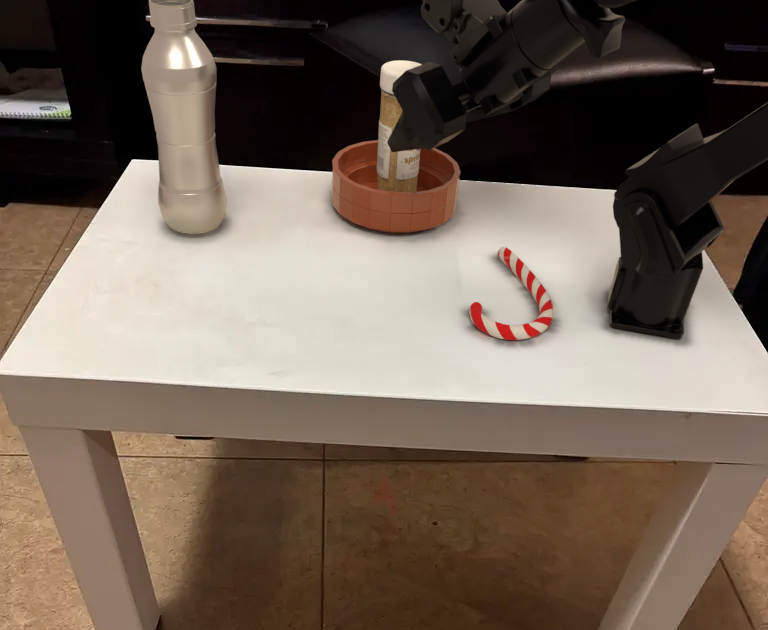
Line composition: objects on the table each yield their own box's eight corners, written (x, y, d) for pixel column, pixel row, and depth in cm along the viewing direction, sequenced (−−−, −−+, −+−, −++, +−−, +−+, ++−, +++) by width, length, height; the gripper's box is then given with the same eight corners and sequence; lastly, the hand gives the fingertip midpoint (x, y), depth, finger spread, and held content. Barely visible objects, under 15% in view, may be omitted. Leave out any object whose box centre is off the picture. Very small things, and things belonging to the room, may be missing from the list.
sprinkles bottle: (415, 214, 86) (427, 77, 77) (371, 210, 86) (378, 72, 77) (417, 195, 89) (429, 60, 80) (375, 191, 90) (383, 56, 80)
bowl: (463, 191, 92) (469, 150, 89) (442, 246, 83) (447, 203, 80) (349, 172, 94) (351, 132, 90) (316, 225, 85) (316, 182, 81)
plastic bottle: (148, 224, 83) (113, -3, 68) (202, 204, 86) (179, -16, 72) (188, 249, 80) (161, 17, 65) (242, 227, 83) (227, 2, 69)
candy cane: (536, 245, 82) (563, 331, 71) (534, 258, 83) (560, 344, 72) (459, 242, 81) (474, 328, 71) (457, 254, 82) (472, 341, 72)
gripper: (547, -73, 72) (434, 36, 85) (419, -41, 62) (312, 79, 74) (604, 48, 75) (487, 136, 87) (491, 99, 64) (375, 192, 77)
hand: (419, 133), depth 81 cm, fingers open, 9 cm apart
